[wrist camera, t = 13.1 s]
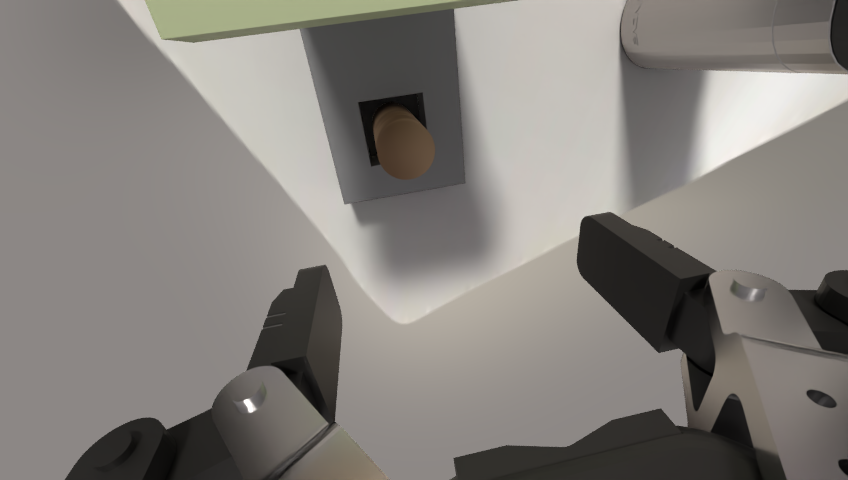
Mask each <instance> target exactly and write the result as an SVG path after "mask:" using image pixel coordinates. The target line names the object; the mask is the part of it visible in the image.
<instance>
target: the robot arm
mask: <svg viewBox="0 0 848 480" xmlns="http://www.w3.org/2000/svg"><path fill="white" fill-rule="evenodd" d="M621 38H622V44H623V47H624V50H625V53H626V54H627V56H628V57H629V59H630V60H631V61H633V62H634V63H635V64H636V65H638V66H641V67H643V68H655V69H681V70H715V71H749V72H782V73H825V74H848V0H628V1H627V3H626V6H625V9H624V12H623V17H622V22H621ZM577 265H578V269H579V272H580V274H581V276H582V277H583V278H584V279H585V280H586V281H587V282H588V283H589V284H590V285H591V286H592V287H593V288H594V289H595V290H596V291H597V292H598V293H599V294H600V295H601V296H602V297H603V298H604V299H605V300H606V301H607V302H608V303H609V304H610V305H611V306H612V307H613V308H614V309H615V310H616V311H617V312H618V313H619V314H620V315H621V316H622V317H623V318H624V319H625V320H626V321H627V322H628V323H629V324H630V325H631V326H632V327H633V328H634V329H635V330H636V331H637V332H638V333H639V334H640V335H641V336H642V337H643V338H645V340H646V341H648V343H650V345H651V346H652V347H654V349H655V350H656V351H657V352H658V353H661V352H665V351H669V350H673V349H678V348H679V349H681V350H682V351H683V352H684V353H683V356H682V359H681V370H682V379H683V387H684V396H685V404H686V412H687V421H688V427H683V426H675V425H674V423H673V422H672V421H671V420H670V419H669V417H668V416H667V415H666V414H665V413H664V412H663V411H662V409H657V410H652V411H649V412H644V413H640V414H636V415H632V416H628V417H624V418H619V419H615V420H611V421H610V422H608V423H607V424H605V425H603V426H602V427H600V428H598V429H597V430H595V431H594V432H592V433H590V434H589V435H587V436H585V437H584V438H583V439H581V440H579V441H577V442H576V443H574V444H572V445H570V446H567V447H537V446H507V445H506V446H502V447H498V448H494V449H490V450H486V451H481V452H477V453H473V454H469V455H465V456H460V457H456V458H454V464H455V471H456V476H455V477H454V478H452V479H451V480H848V270H840V271H833V272H830V273H828V274H826V275H825V277H824V279H823V281H822V283H821V285H820V286H819V288H818V290H788V289H786V288H785V287H784V286H783V285H781V284H780V283H778V282H776V281H774V280H772V279H770V278H767V277H765V276H762V275H759V274H756V273H752V272H747V271H741V270H721V271H715V270H714V269H712V268H710V267H709V266H707V265H705V264H703V263H702V262H700V261H698V260H697V259H695V258H693V257H692V256H690V255H688V254H687V253H685V252H683V251H682V250H680V249H678V248H674V246H673V245H672V244H670V243H668V242H667V241H665V240H664V241H662V239H661V238H660V237H658V236H657V235H655V234H653V233H652V232H650V231H648V230H646V229H643V228H640V227H637V226H634V225H631V224H630V223H628V222H626V221H625V220H623V219H621V218H620V217H618V216H617V215H615V214H613V213H611V212H607V213H601V214H596V215H591V216H586V217H584V218H583V219H582V221H581V226H580V235H579V244H578V253H577ZM341 335H342V315H341V310H340V306H339V302H338V299H337V296H336V293H335V289H334V286H333V283H332V280H331V277H330V273H329V270H328V268H327V266H326V265H322V266H316V267H311V268H306V269H300V270H299V272H298V275H297V278H296V281H295V284H294V288H290V289H285V290H283V291H282V292H281V293H280V294H279V295H278V296H277V298H276V299H275V300H274V301H273V302H272V304H271V307H270V309H269V312H268V315H267V318H266V320H265V323H264V325H263V330H262V331H261V333H260V336H259V339H258V341H257V344H256V347H255V349H254V352H253V355H252V357H251V360H250V363H249V365H248V368H247V371H245V372H243V373H241V374H240V375H238V376H236V377H235V378H234V379H232V380H231V381H230V382H229V383H228V384H226V386H224V387H223V389H222V390H221V391H220V392H219V394H218V395H217V397H216V398H215V400H214V402H213V405H212V408H211V409H210V410H208V411H205V412H204V413H201V414H199V415H197V416H195V417H193V418H191V419H189V420H187V421H184V422H182V423H180V424H178V425H176V426H174V427H172V428H170V429H167V430H166V429H165V427H164V426H163V425H162V424H161V422H159V420H157V419H155V418H141V419H136V420H133V421H130V422H128V423H125V424H123V425H121V426H119V427H118V428H116V429H114V430H112V431H111V432H109V433H108V434H106V435H105V436H104V437H102V438H101V439H99V440H98V441H97V442H96V443H95V444H93V445H92V446H91V447H90V448H89V449H88V450H87V451H86V452H85V453H84V454H83V455H82V457H81V458H80V459H79V460H78V461H77V463H76V464H75V465H74V467H73V468H72V470H71V471H70V473H69V474H68V476H67V477H66V479H65V480H390V479H389V478H388V477H387V476H386V475H385V474H384V473H383V472H382V471H381V469H380V468H379V467H378V466H377V465H376V464H375V463H374V462H373V461H372V460H371V459H370V457H369V456H368V455H367V454H366V453H365V452H364V451H363V450H362V449H361V448H360V446H359V445H358V444H357V443H356V442H355V441H354V440H353V439H352V438H351V437H350V436H349V434H348V433H347V432H346V431H345V430H344V429H343V428H342V427H341V426H340V425H338V424H337V423H336V422H335V411H336V398H337V386H338V373H339V360H340V348H341Z"/></svg>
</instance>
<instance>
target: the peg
mask: <svg viewBox="0 0 848 480" xmlns="http://www.w3.org/2000/svg"><path fill="white" fill-rule="evenodd" d="M372 128H373V133H374V138H375V144H376V149H377V155H378V159H379V162H380V164H381V166H382V168H383V169H384V170H385V171H386V172H387V173H388V174H389V175H391V176H393V177H395V178H397V179H402V180H410V179H414V178H417V177H419V176H421V175H422V174H424V173H425V172H426V171H427V170H428V169H429V167H430V166H431V164H432V162H433V160H434V156H435V144H434V141H433V138H432V136H431V134H430V133H429V132H428V131H427V129H426V128H425V127H424V126H423V125H422V124H421V123H420V122H419V121H418V120H417V119H416V118H415V117H414V116H413V115H412V114H411V113H410V112H409V111H408V110H407V108H405V107H404V106H403V105H402V104H400V103H397V102H387V103H384V104H382V105H380V106H379V107H378V108H377V109H376V111H375V112H374V114H373V118H372Z"/></svg>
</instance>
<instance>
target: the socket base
mask: <svg viewBox="0 0 848 480" xmlns="http://www.w3.org/2000/svg"><path fill="white" fill-rule="evenodd" d="M509 1H516V0H145V2H146V4H147V6H148V9H149V11H150V13H151V16H152V18H153V20H154V23H155V25H156V27H157V30H158V32H159V34H160V37H161V39H164V40H174V41H183V42H193V43H194V42H202V41H210V40H217V39H225V38H233V37H240V36H248V35H256V34H263V33H271V32H279V31H286V30H294V29H300V32H301V36H302V40H303V44H304V47H305V51H306V55H307V59H308V63H309V67H310V71H311V75H312V79H313V83H314V87H315V91H316V95H317V98H318V102H319V106H320V110H321V114H322V118H323V122H324V126H325V130H326V134H327V138H328V142H329V145H330V149H331V153H332V157H333V161H334V165H335V169H336V173H337V177H338V181H339V185H340V189H341V193H342V196H343V200H344V204H349V203H355V202H361V201H366V200H372V199H378V198H383V197H389V196H395V195H400V194H406V193H412V192H417V191H423V190H429V189H434V188H440V187H446V186H451V185H457V184H463V183H465V172H464V157H463V142H462V127H461V112H460V97H459V82H458V67H457V52H456V37H455V22H454V9H455V8H463V7H470V6H478V5H486V4H493V3H501V2H509ZM416 93H417V101H418V109H419V117H420V123H421V124H422V125H423V126H424V127H425V128H426V129H427V131H428V132H429V133H430V134H431V136H432V138H433V141H434V144H435V156H434V160H433V162H432V164H431V166H430V167H429V169H428V170H427V171H426V172H425V173H424V174H422V175H421V176H419V177H417V178H414V179H410V180H402V179H397V178H395V177H393V176H391V175H389V174H388V173H387V172H386V171H385V170H384V169H383V168H382V166H381V164H380V162H379V159H378V155H372V156H370V154H369V149H368V144H367V139H366V134H365V129H364V124H363V119H362V114H361V109H360V104H359V102H363V101H369V100H376V99H382V98H389V97H396V96H402V95H409V94H416Z"/></svg>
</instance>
